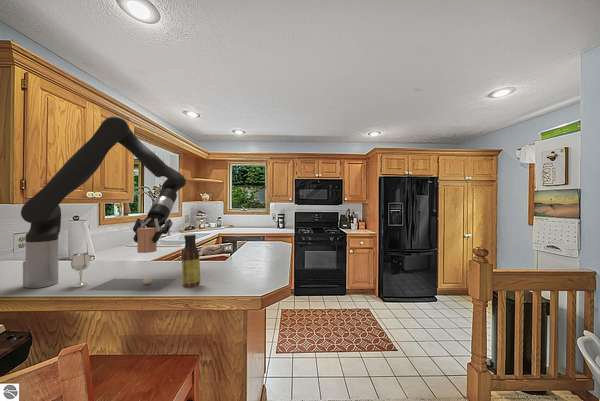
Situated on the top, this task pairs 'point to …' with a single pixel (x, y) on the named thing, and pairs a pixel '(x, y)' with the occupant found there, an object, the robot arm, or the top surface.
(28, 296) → the top surface
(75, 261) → the wineglass
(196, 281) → the sauce bottle
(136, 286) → the rubber mat
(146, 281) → the ivory ball
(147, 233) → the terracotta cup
